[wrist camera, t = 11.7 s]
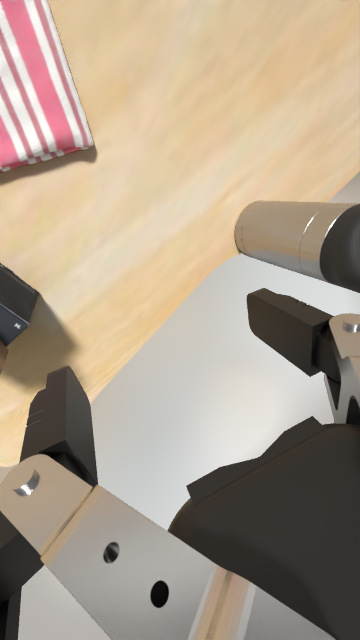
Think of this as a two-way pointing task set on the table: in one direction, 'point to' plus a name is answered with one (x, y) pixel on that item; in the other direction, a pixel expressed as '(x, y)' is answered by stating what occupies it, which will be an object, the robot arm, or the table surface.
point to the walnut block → (2, 354)
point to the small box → (14, 305)
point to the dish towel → (36, 89)
